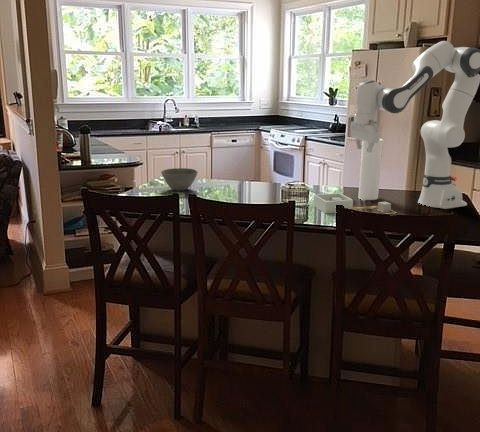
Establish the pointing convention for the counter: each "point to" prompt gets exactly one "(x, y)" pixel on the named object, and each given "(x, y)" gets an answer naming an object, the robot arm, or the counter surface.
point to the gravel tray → (372, 208)
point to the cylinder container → (370, 171)
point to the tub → (331, 202)
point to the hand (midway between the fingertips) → (364, 150)
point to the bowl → (179, 178)
